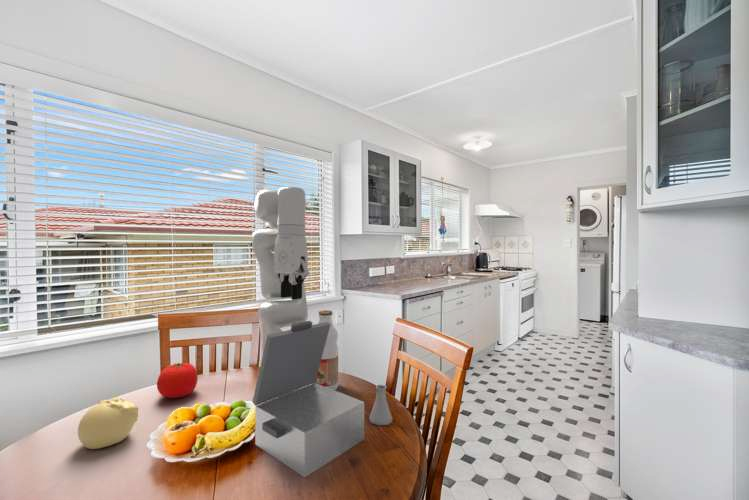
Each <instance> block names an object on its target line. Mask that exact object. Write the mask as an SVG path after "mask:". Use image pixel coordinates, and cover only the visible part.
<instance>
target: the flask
mask: <svg viewBox="0 0 749 500" xmlns="http://www.w3.org/2000/svg"><path fill="white" fill-rule="evenodd" d="M375 389H376V395H375V400H374V403H373V406H372V409H371V411H370V414H369V418H368V419H369V423H370V424H372V425H376V426H388V425H390V424H391V423H392V422H394V419H393V416H392V413H391V410H390V406H389V404H388V401H387V395H386V390H387V385H385V384H377V385H376V386H375Z"/></svg>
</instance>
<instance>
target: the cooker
mask: <svg viewBox="0 0 749 500" xmlns="http://www.w3.org/2000/svg"><path fill="white" fill-rule="evenodd" d="M254 406H255V405H254ZM254 413H255V417H254V418H255V419H254V420H255V421H254V423H255V425H254V427H255V428H254V429H255V439H254V440H255V442H254V443H255V445H256V446H257V447H258V448H259V449H262V451H264V452H265V453H267V454H269V455H270V456H271V457H272V458H275V459H276V460H278V461H279V462H280V463H281V464H283V465H285V466H287V468H289V469H291V470H292V471H293V472H295V473H297V474H298V475H300V476H301V477H302V478H306V477H308V476H309V475H312V474H313V473H315V472H316V471H317V470H319V469H320V468H322V467H324V466H325V465H327V464H329V463H330V462H331V461H333V460H335V459H336V458H338V457H339V456H340V455H342V454H344V453H346V452H347V451H348V450H350V449H351V448H353V447H354V446H356V445H358V444H359V443H360V442H362V441H364V440H365V401H363V400H360V399H358V398H356V397H355V398H354V397H352V396H351V395H350V394H346V393H344V392H341V391H339V390H335V391H334V390H332V389H329V388H327V387H324V386H322V385H319V384H316V383H314V384H310V385H308V386H305V387H302V388H300V389H297V390H295V391H292V392H290V393H287V394H284V395H282V396H279V397H277V398H274V399H271V400H269V401H266V402H264V403H261V404H259V405H256V406H255V411H254Z"/></svg>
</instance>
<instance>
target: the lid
mask: <svg viewBox="0 0 749 500" xmlns="http://www.w3.org/2000/svg"><path fill="white" fill-rule="evenodd" d="M330 325H331V324H330V323H328V322H324V323H319V322H318V323H316V324H313V322H312V321H311V320H307V321H306V322H301V323H296V324H292V326H290V329H288V330H282V331H283V332H278V333H274V334H269V335H267V339H266V344H265V348H264V353H263V357H262V362H261V361H260V367H259V370H258V371H259V372H258V374H259V375H258V374H257V380H256V385H255V389H254V394H253V397H252V403H253V405H254V406H257V405H260V404H262V403H265V402H267V401H270V400H272V399H275V398H278V397H280V396H283V395H285V394H288V393H290V392H293V391H296V390H298V389H301V388H303V387H306V386H308V385H311V384H313V383H315V381H316V377H317V373H318V369H319V366H320V362H321V358H322V354H323V351H324V347H325V343H326V340H327V336H328V332H329V328H330Z"/></svg>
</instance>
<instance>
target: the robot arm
mask: <svg viewBox="0 0 749 500" xmlns="http://www.w3.org/2000/svg"><path fill="white" fill-rule="evenodd" d="M306 209H307V201H306V191H305V190H304V189H303V188H300V187H297V186H283V187H280V188H279V189H278V190H277V189H276V190H275V189H273V190H272V189H262V190H260V191H258V193H257V195H256V196H255V201H254V211H255V214H256V217H257V218H258V219H259V220H262V222H263V224H264V225H265V226H267V227H269V228H261V229H257V230H255V231H253V233H252V236H251V243H252V249H253V252H254V255H255V257H256V261H257V262H258V266H259V274H260V275H259V276H260V277H259V278H260V279H259V280H260V291H261V295H262V296H263V298H264V299H266V300H272V301H266V302H263V303H262V304H261V305H260V306H259V307H258V311H257V314H258V323H259V331H260V363H261V362H262V357H263V353H264V348H265V344H266V339H267V335H269V334H274V333H278V332H283V331H284V330H282V328H286V327H287V328H288V327H292V324H296V323H301V322H306V321H308V318H309V311H308V301H307V294H306V293H307V292H306V287H305V279H306V278H307V277H308V276H309V275H310V271H309V268H308V267H309V256H308V255H309V253H308V245H307V244H308V243H307V238H306ZM273 251H274V252H273ZM286 299H287V300H286ZM258 375H259V373H258V374H257V376H258Z"/></svg>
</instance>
